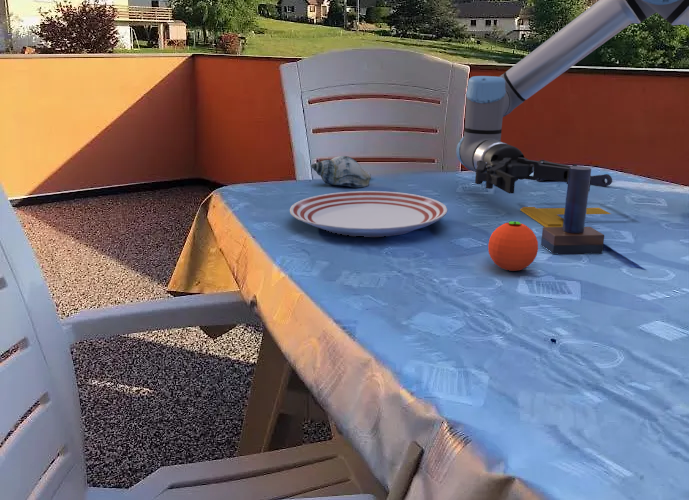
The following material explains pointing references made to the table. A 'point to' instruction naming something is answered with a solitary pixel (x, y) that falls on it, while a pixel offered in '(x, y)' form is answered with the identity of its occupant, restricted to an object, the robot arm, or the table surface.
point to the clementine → (513, 246)
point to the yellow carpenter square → (553, 215)
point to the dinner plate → (369, 212)
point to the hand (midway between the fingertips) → (550, 184)
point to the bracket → (596, 180)
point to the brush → (574, 220)
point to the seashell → (342, 172)
